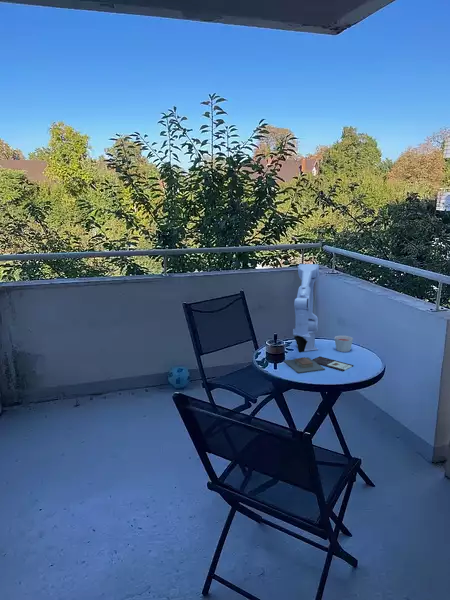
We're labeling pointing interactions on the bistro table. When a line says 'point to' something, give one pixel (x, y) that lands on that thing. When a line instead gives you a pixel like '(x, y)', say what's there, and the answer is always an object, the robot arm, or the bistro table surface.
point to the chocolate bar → (332, 363)
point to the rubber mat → (303, 370)
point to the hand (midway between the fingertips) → (301, 351)
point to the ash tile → (303, 362)
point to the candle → (343, 343)
